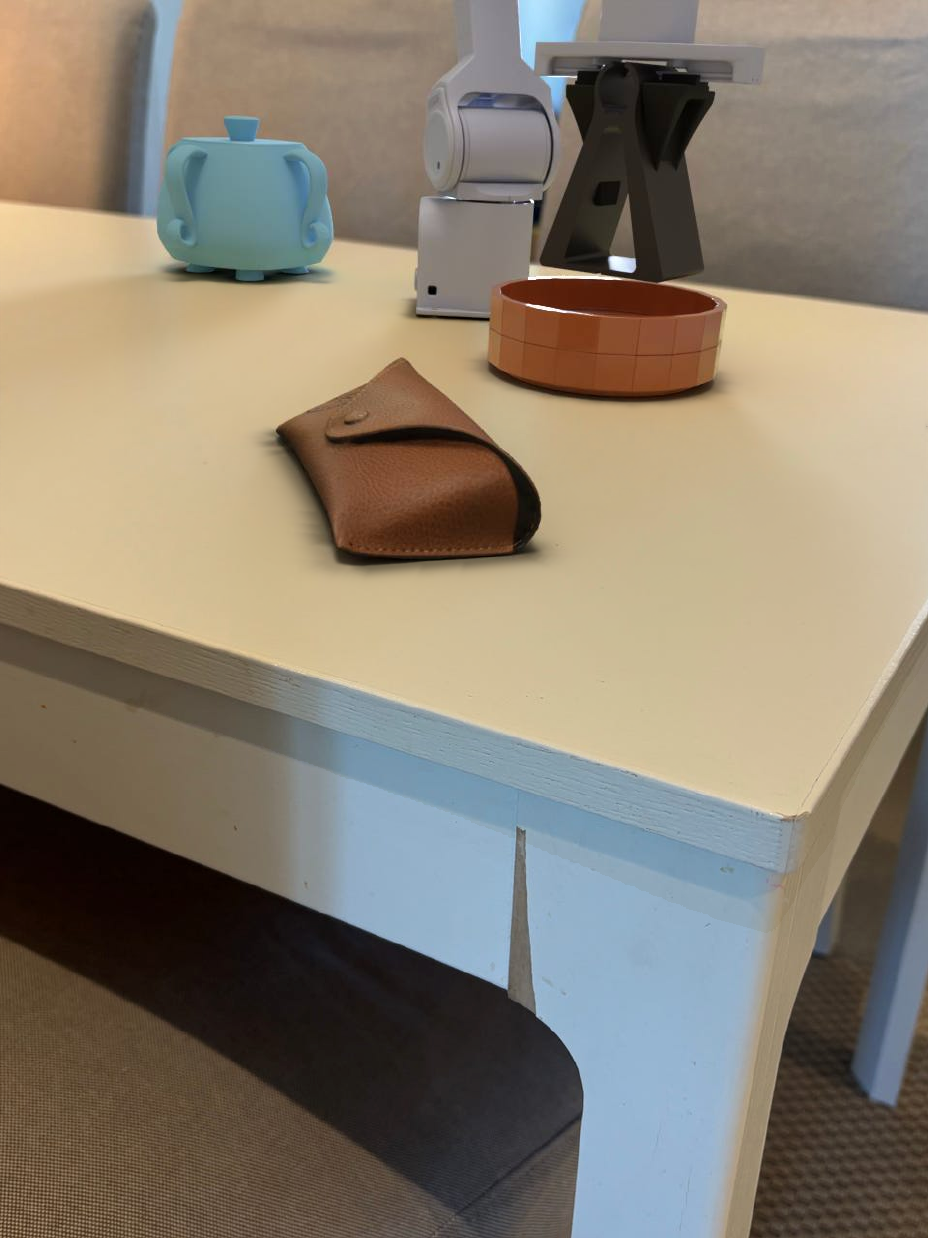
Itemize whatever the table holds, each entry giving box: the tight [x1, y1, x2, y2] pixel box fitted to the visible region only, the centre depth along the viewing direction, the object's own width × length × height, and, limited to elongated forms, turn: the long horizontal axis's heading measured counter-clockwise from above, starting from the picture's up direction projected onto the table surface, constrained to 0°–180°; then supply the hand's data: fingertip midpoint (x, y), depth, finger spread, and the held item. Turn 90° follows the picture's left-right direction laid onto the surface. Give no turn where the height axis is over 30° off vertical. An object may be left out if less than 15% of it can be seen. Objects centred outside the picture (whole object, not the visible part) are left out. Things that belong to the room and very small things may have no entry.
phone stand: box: [539, 61, 705, 283], centre depth 67 cm, size 9×6×12 cm, turn 53°
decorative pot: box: [156, 115, 334, 282], centre depth 100 cm, size 16×16×14 cm
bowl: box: [487, 276, 728, 398], centre depth 71 cm, size 15×15×5 cm
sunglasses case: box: [275, 356, 542, 560], centre depth 49 cm, size 18×7×7 cm
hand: (628, 207), depth 68 cm, fingers closed on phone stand, 3 cm apart
